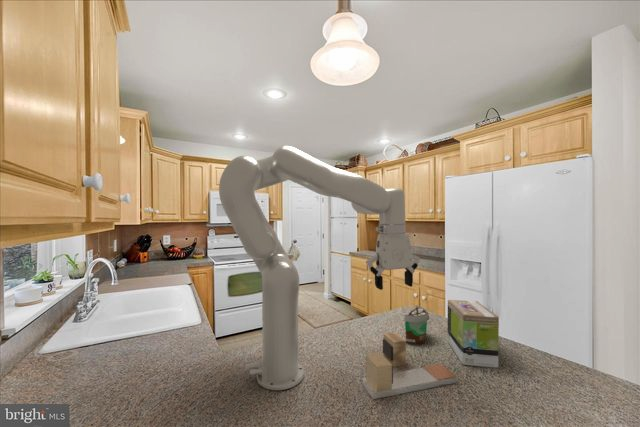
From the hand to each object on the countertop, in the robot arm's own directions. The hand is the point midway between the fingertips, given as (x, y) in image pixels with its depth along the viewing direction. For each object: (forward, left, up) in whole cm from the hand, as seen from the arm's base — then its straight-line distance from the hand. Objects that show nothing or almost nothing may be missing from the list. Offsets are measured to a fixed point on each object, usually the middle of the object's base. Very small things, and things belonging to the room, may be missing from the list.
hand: (394, 287), depth 82 cm
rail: (-2, -11, -22) cm, 25 cm away
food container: (+15, +9, -22) cm, 28 cm away
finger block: (0, 0, -22) cm, 22 cm away
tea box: (+25, -3, -22) cm, 34 cm away
